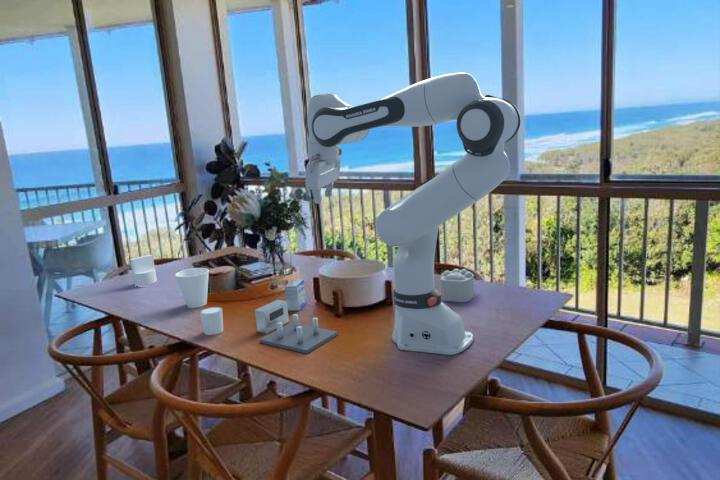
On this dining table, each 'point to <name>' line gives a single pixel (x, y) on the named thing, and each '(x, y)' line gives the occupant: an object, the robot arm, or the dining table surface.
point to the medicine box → (295, 295)
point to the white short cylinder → (212, 320)
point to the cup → (194, 286)
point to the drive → (271, 316)
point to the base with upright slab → (143, 270)
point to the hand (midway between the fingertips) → (323, 199)
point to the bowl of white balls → (457, 285)
